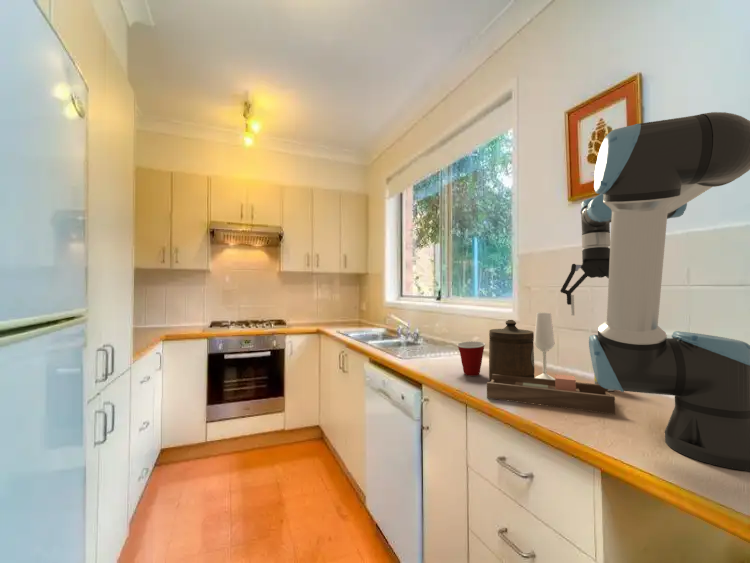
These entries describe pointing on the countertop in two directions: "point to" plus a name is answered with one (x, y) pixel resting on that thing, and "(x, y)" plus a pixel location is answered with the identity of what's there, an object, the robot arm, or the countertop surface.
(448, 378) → the countertop surface
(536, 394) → the box
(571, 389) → the block
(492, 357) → the wooden container
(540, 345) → the champagne flute
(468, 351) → the plastic cup
